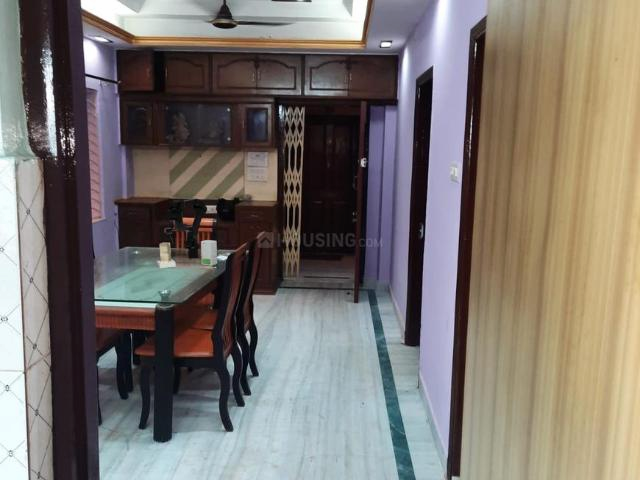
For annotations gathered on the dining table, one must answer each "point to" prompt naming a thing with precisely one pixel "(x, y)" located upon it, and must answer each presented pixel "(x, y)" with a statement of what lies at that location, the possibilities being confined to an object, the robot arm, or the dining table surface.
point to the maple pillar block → (165, 252)
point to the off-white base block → (166, 264)
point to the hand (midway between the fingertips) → (180, 242)
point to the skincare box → (209, 252)
